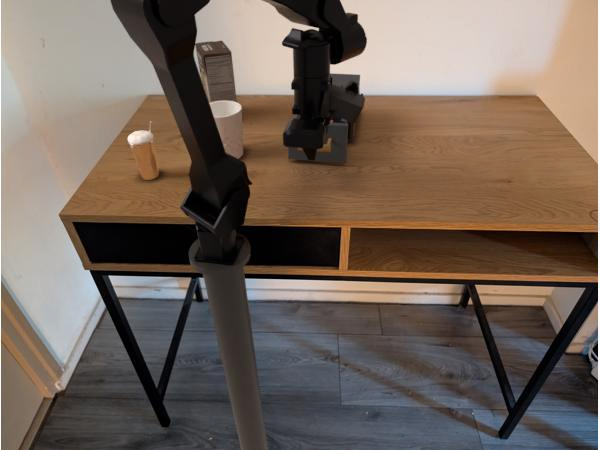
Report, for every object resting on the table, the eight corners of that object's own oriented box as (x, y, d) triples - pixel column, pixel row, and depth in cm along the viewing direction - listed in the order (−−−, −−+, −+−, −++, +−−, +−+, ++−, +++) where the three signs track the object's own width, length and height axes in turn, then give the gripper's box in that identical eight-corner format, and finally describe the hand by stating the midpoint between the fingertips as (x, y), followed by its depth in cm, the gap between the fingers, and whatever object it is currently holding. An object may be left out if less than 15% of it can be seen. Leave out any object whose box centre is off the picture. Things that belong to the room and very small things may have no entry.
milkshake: (170, 171, 85) (159, 124, 78) (150, 184, 81) (137, 136, 75) (154, 165, 86) (141, 118, 80) (133, 178, 83) (119, 130, 77)
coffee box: (205, 110, 107) (194, 42, 97) (230, 106, 109) (222, 39, 99) (212, 125, 100) (201, 54, 90) (239, 121, 102) (231, 50, 92)
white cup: (252, 157, 89) (248, 111, 82) (216, 167, 85) (209, 120, 79) (237, 141, 94) (232, 97, 88) (202, 151, 91) (194, 105, 85)
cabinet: (352, 142, 93) (355, 99, 87) (295, 138, 95) (293, 96, 89) (357, 114, 104) (360, 74, 98) (305, 111, 106) (305, 72, 100)
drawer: (343, 174, 81) (345, 136, 76) (284, 169, 83) (282, 132, 78) (351, 132, 95) (353, 97, 90) (300, 128, 96) (299, 94, 92)
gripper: (359, 98, 59) (352, 192, 69) (367, 55, 73) (360, 138, 83) (279, 94, 61) (284, 186, 70) (302, 52, 75) (303, 134, 85)
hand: (311, 159), depth 77 cm, fingers closed
